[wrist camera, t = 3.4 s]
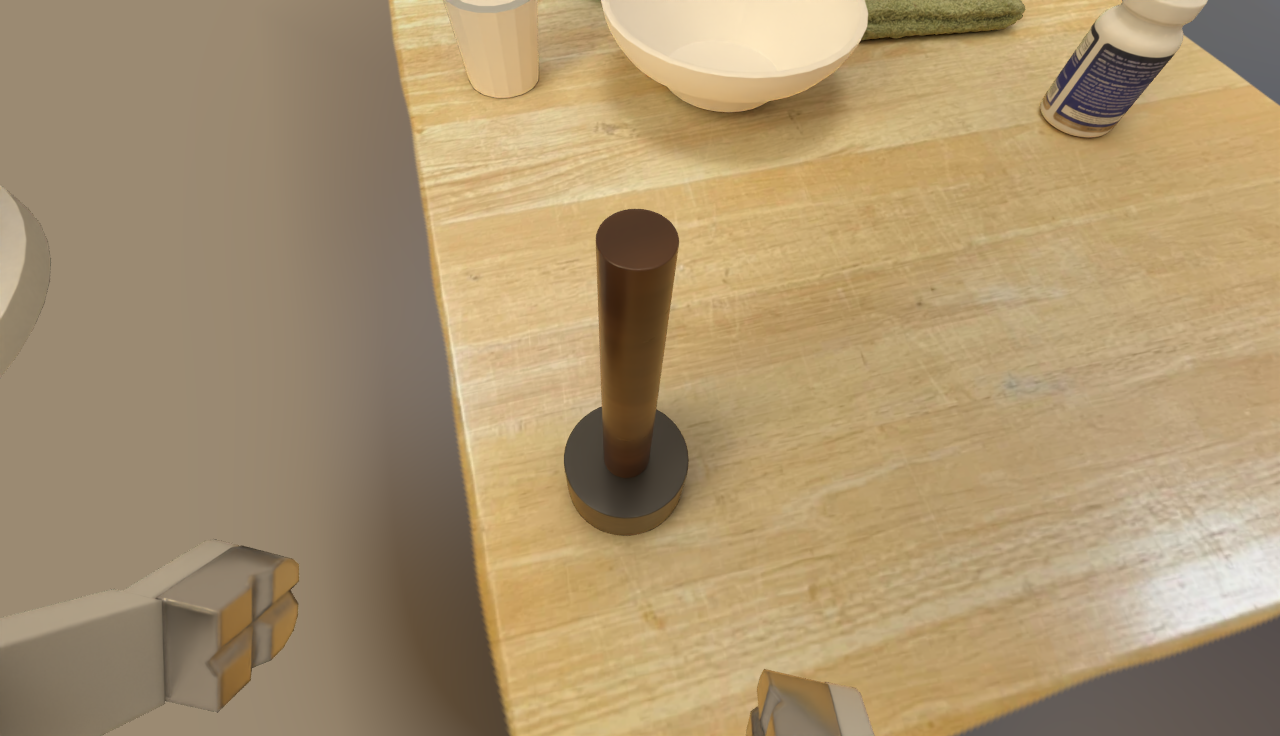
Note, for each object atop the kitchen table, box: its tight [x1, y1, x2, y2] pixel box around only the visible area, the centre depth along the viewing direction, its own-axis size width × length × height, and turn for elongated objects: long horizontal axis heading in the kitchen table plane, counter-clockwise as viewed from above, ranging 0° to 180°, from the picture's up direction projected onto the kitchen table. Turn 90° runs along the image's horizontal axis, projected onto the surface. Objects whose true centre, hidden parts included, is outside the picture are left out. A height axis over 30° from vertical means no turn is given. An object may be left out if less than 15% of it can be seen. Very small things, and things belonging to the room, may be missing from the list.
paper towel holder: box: [564, 209, 689, 536], centre depth 23 cm, size 6×6×18 cm
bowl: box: [601, 0, 868, 112], centre depth 46 cm, size 20×20×7 cm
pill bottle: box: [1041, 0, 1207, 137], centre depth 44 cm, size 6×6×10 cm
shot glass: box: [443, 0, 539, 98], centre depth 45 cm, size 7×7×7 cm
